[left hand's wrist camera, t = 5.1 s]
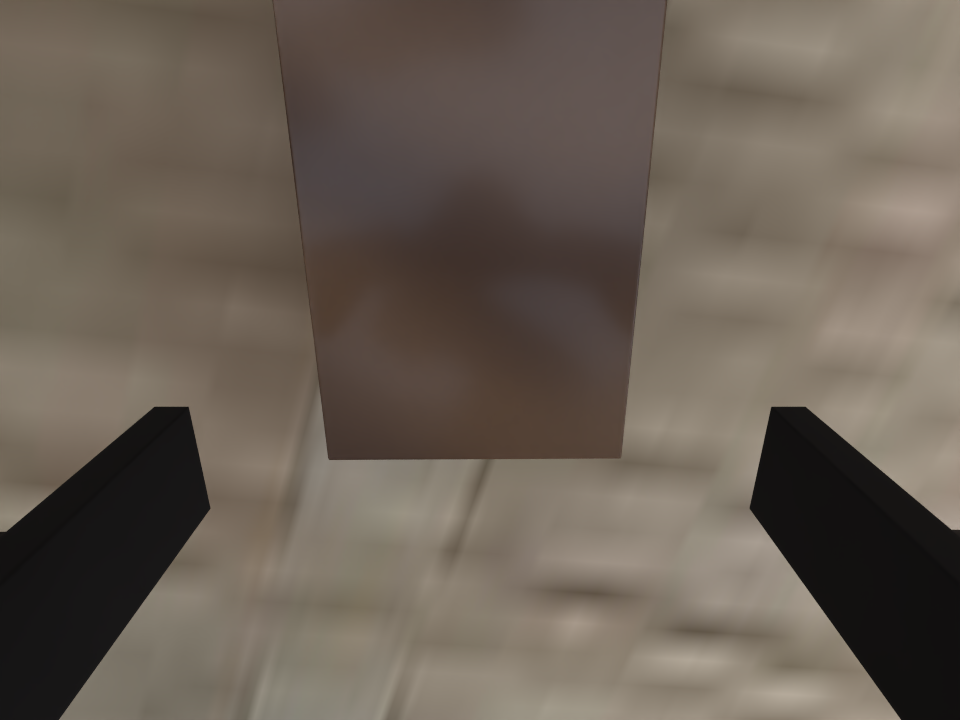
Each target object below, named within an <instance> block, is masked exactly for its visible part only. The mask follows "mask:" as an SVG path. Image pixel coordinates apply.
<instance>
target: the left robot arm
mask: <svg viewBox="0 0 960 720" xmlns="http://www.w3.org/2000/svg"><path fill="white" fill-rule="evenodd" d="M209 510H210V504H209V500H208V495H207V490H206V486H205V481H204V476H203V472H202V467H201V462H200V458H199V453H198V448H197V444H196V439H195V434H194V430H193V425H192V420H191V416H190V411H189V407H154V408H153V409H151V410H150V411H149V412H148V413H147V414H145V415H144V416H143V417H142V418H141V419H140V420H138V421H137V422H136V423H135V424H134V425H132V426H131V427H130V428H129V429H128V430H127V431H125V432H124V433H123V434H122V435H121V436H119V437H118V438H117V439H116V440H115V441H113V442H112V443H111V444H110V445H109V446H108V447H106V448H105V449H104V450H103V451H102V452H100V453H99V454H98V455H97V456H96V457H94V458H93V459H92V460H91V461H90V462H89V463H87V464H86V465H85V466H84V467H83V468H81V469H80V470H79V471H78V472H77V473H75V474H74V475H73V476H72V477H71V478H70V479H68V480H67V481H66V482H65V483H64V484H62V485H61V486H60V487H59V488H58V489H56V490H55V491H54V492H53V493H52V494H51V495H49V496H48V497H47V498H46V499H45V500H43V501H42V502H41V503H40V504H39V505H37V506H36V507H35V508H34V509H33V510H32V511H30V512H29V513H28V514H27V515H26V516H24V517H23V518H22V519H21V520H20V521H19V522H17V523H16V524H15V525H14V526H13V527H11V528H10V529H9V530H8V531H7V532H0V720H59V719H60V717H61V716H62V715H63V713H64V712H65V710H66V709H67V708H68V706H69V705H70V703H71V702H72V701H73V699H74V698H75V696H76V695H77V694H78V692H79V691H80V689H81V688H82V687H83V685H84V684H85V682H86V681H87V680H88V678H89V677H90V676H91V674H92V673H93V671H94V670H95V669H96V667H97V666H98V664H99V663H100V662H101V660H102V659H103V657H104V656H105V655H106V653H107V652H108V650H109V649H110V648H111V646H112V645H113V643H114V642H115V641H116V639H117V638H118V636H119V635H120V634H121V632H122V631H123V630H124V628H125V627H126V625H127V624H128V623H129V621H130V620H131V618H132V617H133V616H134V614H135V613H136V611H137V610H138V609H139V607H140V606H141V604H142V603H143V602H144V600H145V599H146V597H147V596H148V595H149V593H150V592H151V591H152V589H153V588H154V586H155V585H156V584H157V582H158V581H159V579H160V578H161V577H162V575H163V574H164V572H165V571H166V570H167V568H168V567H169V565H170V564H171V563H172V561H173V560H174V558H175V557H176V556H177V554H178V553H179V551H180V550H181V549H182V547H183V546H184V545H185V543H186V542H187V540H188V539H189V538H190V536H191V535H192V533H193V532H194V531H195V529H196V528H197V526H198V525H199V524H200V522H201V521H202V519H203V518H204V517H205V515H206V514H207V512H208V511H209ZM750 510H751V511H752V512H753V514H754V515H755V517H756V518H757V519H758V521H759V522H760V524H761V525H762V526H763V528H764V529H765V531H766V532H767V533H768V535H769V536H770V538H771V539H772V540H773V542H774V543H775V545H776V546H777V547H778V549H779V550H780V551H781V553H782V554H783V556H784V557H785V558H786V560H787V561H788V563H789V564H790V565H791V567H792V568H793V570H794V571H795V572H796V574H797V575H798V577H799V578H800V579H801V581H802V582H803V584H804V585H805V586H806V588H807V589H808V591H809V592H810V593H811V595H812V596H813V597H814V599H815V600H816V602H817V603H818V604H819V606H820V607H821V609H822V610H823V611H824V613H825V614H826V616H827V617H828V618H829V620H830V621H831V623H832V624H833V625H834V627H835V628H836V630H837V631H838V632H839V634H840V635H841V637H842V638H843V639H844V641H845V642H846V643H847V645H848V646H849V648H850V649H851V650H852V652H853V653H854V655H855V656H856V657H857V659H858V660H859V662H860V663H861V664H862V666H863V667H864V669H865V670H866V671H867V673H868V674H869V676H870V677H871V678H872V680H873V681H874V682H875V684H876V685H877V687H878V688H879V689H880V691H881V692H882V694H883V695H884V696H885V698H886V699H887V701H888V702H889V703H890V705H891V706H892V708H893V709H894V710H895V712H896V713H897V715H898V716H899V717H900V719H901V720H960V530H951V529H950V528H949V527H947V526H946V525H945V524H944V523H943V522H941V521H940V520H939V519H938V518H937V517H936V516H934V515H933V514H932V513H931V512H930V511H928V510H927V509H926V508H925V507H924V506H923V505H921V504H920V503H919V502H918V501H917V500H915V499H914V498H913V497H912V496H911V495H909V494H908V493H907V492H906V491H905V490H904V489H902V488H901V487H900V486H899V485H898V484H896V483H895V482H894V481H893V480H892V479H890V478H889V477H888V476H887V475H886V474H885V473H883V472H882V471H881V470H880V469H879V468H877V467H876V466H875V465H874V464H873V463H871V462H870V461H869V460H868V459H867V458H866V457H864V456H863V455H862V454H861V453H860V452H858V451H857V450H856V449H855V448H854V447H852V446H851V445H850V444H849V443H848V442H847V441H845V440H844V439H843V438H842V437H841V436H839V435H838V434H837V433H836V432H835V431H833V430H832V429H831V428H830V427H829V426H828V425H826V424H825V423H824V422H823V421H822V420H820V419H819V418H818V417H817V416H816V415H814V414H813V413H812V412H811V411H810V410H809V409H807V408H806V407H771V411H770V416H769V420H768V425H767V430H766V434H765V439H764V444H763V448H762V453H761V458H760V462H759V467H758V472H757V476H756V481H755V486H754V490H753V495H752V500H751V504H750Z"/></svg>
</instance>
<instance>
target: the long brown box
mask: <svg viewBox="0 0 960 720" xmlns="http://www.w3.org/2000/svg"><path fill="white" fill-rule="evenodd" d="M666 7H667V0H273V8H274V16H275V24H276V32H277V41H278V49H279V57H280V65H281V73H282V82H283V90H284V98H285V106H286V115H287V123H288V131H289V139H290V147H291V156H292V164H293V172H294V180H295V189H296V197H297V205H298V213H299V221H300V230H301V238H302V246H303V254H304V263H305V271H306V279H307V287H308V295H309V304H310V312H311V320H312V328H313V337H314V345H315V353H316V361H317V369H318V378H319V386H320V394H321V402H322V411H323V419H324V427H325V435H326V443H327V452H328V459H329V460H384V459H579V458H621V453H622V443H623V433H624V424H625V414H626V404H627V394H628V384H629V374H630V364H631V354H632V344H633V334H634V324H635V315H636V305H637V295H638V285H639V275H640V265H641V255H642V245H643V235H644V225H645V215H646V205H647V196H648V186H649V176H650V166H651V156H652V146H653V136H654V126H655V116H656V106H657V96H658V87H659V77H660V67H661V57H662V47H663V37H664V27H665V17H666Z"/></svg>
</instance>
